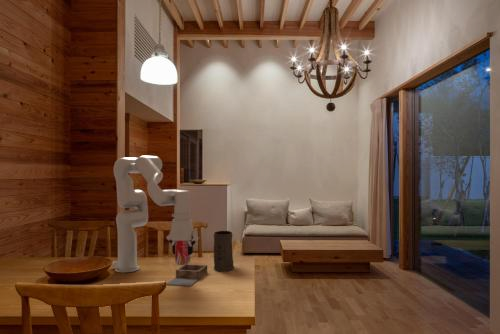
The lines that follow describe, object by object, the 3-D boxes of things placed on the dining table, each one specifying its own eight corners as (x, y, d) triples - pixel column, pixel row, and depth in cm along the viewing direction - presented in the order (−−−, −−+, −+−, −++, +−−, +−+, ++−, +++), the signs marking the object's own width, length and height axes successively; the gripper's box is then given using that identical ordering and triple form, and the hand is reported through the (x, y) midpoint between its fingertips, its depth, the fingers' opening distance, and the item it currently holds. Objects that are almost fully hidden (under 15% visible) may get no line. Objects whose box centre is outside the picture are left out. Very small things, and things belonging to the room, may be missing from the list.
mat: (166, 284, 172) (166, 283, 172) (175, 278, 182) (175, 277, 182) (190, 286, 169) (190, 285, 169) (198, 280, 179) (198, 279, 179)
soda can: (176, 262, 179) (175, 237, 179) (190, 262, 179) (190, 237, 179) (174, 266, 171) (174, 240, 172) (189, 265, 172) (189, 239, 172)
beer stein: (230, 272, 192) (230, 234, 192) (210, 271, 194) (210, 233, 195) (237, 265, 207) (237, 229, 208) (219, 264, 209) (219, 228, 210)
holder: (176, 278, 182) (176, 270, 183) (185, 271, 194) (185, 264, 194) (199, 279, 180) (199, 271, 180) (207, 273, 191) (207, 265, 192)
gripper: (161, 217, 174) (162, 255, 174) (196, 217, 170) (197, 256, 170) (168, 215, 181) (169, 251, 181) (202, 215, 177) (202, 253, 177)
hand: (182, 253), depth 175 cm, fingers closed on soda can, 7 cm apart
